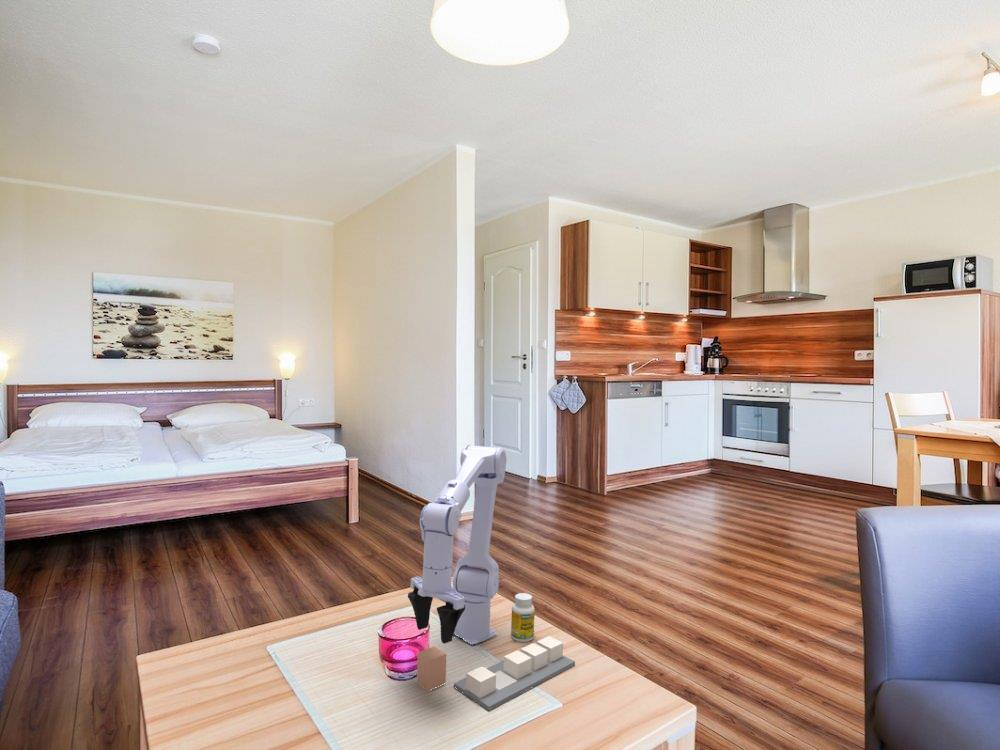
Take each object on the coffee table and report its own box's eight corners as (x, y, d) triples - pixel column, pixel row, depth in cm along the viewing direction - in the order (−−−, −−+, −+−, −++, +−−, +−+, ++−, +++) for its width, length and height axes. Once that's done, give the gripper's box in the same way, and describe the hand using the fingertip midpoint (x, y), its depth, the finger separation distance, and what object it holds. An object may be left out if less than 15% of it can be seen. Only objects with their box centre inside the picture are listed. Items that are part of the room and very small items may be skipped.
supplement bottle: (524, 630, 134) (526, 590, 134) (538, 639, 129) (539, 598, 129) (506, 635, 131) (507, 594, 131) (519, 644, 126) (521, 602, 126)
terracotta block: (416, 682, 109) (417, 652, 109) (433, 675, 112) (434, 646, 112) (428, 691, 106) (430, 660, 106) (445, 684, 109) (446, 653, 109)
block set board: (453, 687, 108) (454, 667, 108) (539, 647, 125) (540, 630, 125) (488, 711, 101) (489, 690, 101) (574, 665, 118) (575, 647, 118)
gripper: (399, 559, 112) (396, 627, 111) (445, 579, 101) (441, 654, 101) (427, 553, 117) (424, 618, 116) (474, 571, 106) (470, 643, 106)
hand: (434, 634), depth 109 cm, fingers open, 7 cm apart
